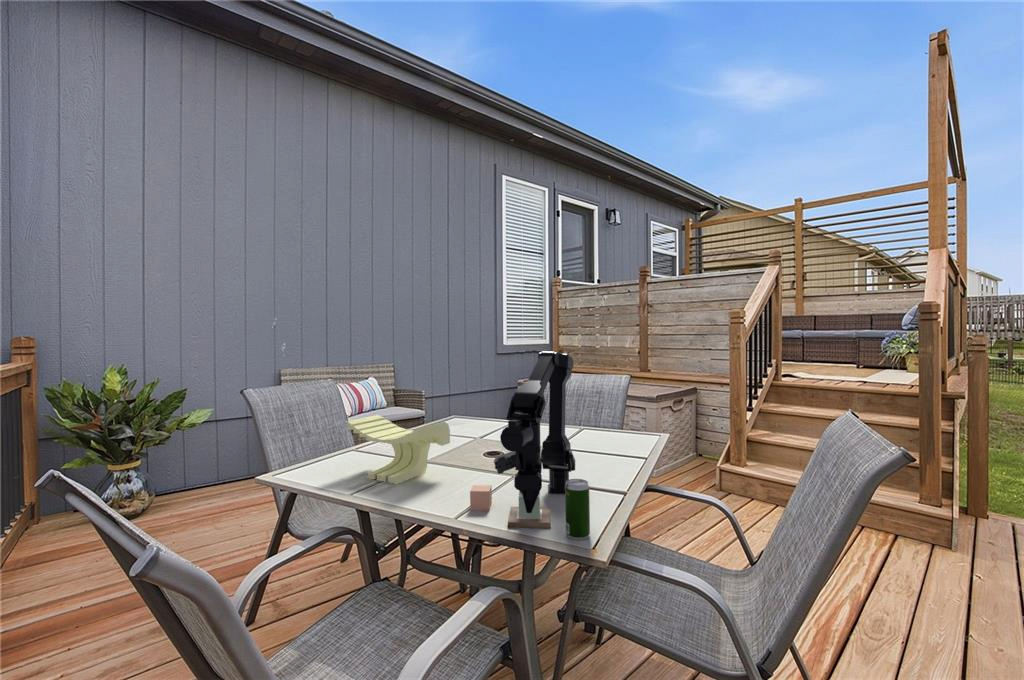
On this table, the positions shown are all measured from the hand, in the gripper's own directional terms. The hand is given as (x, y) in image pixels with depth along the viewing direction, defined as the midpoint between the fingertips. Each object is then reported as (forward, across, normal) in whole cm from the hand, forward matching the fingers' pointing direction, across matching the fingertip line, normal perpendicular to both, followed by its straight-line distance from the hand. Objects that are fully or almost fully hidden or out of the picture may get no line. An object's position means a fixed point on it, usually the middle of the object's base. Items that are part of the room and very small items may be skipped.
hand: (529, 505), depth 112 cm
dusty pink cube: (+3, -8, -13) cm, 16 cm away
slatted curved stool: (+4, -36, -44) cm, 57 cm away
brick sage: (+2, 0, 0) cm, 2 cm away
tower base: (+3, 0, 0) cm, 3 cm away
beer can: (+4, +9, +11) cm, 15 cm away
